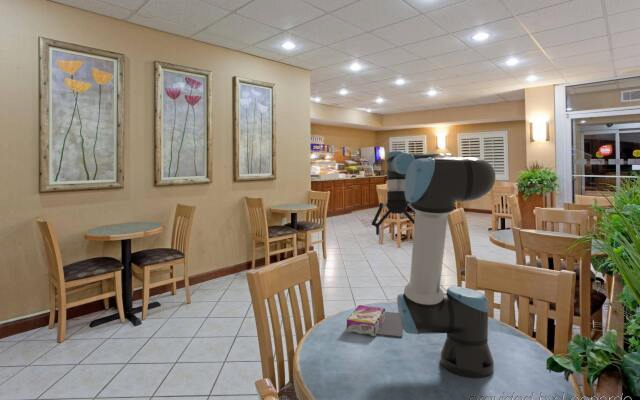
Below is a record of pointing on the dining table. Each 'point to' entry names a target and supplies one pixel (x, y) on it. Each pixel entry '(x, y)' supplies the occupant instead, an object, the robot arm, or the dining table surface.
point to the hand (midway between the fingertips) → (397, 243)
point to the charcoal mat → (391, 326)
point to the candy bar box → (366, 320)
